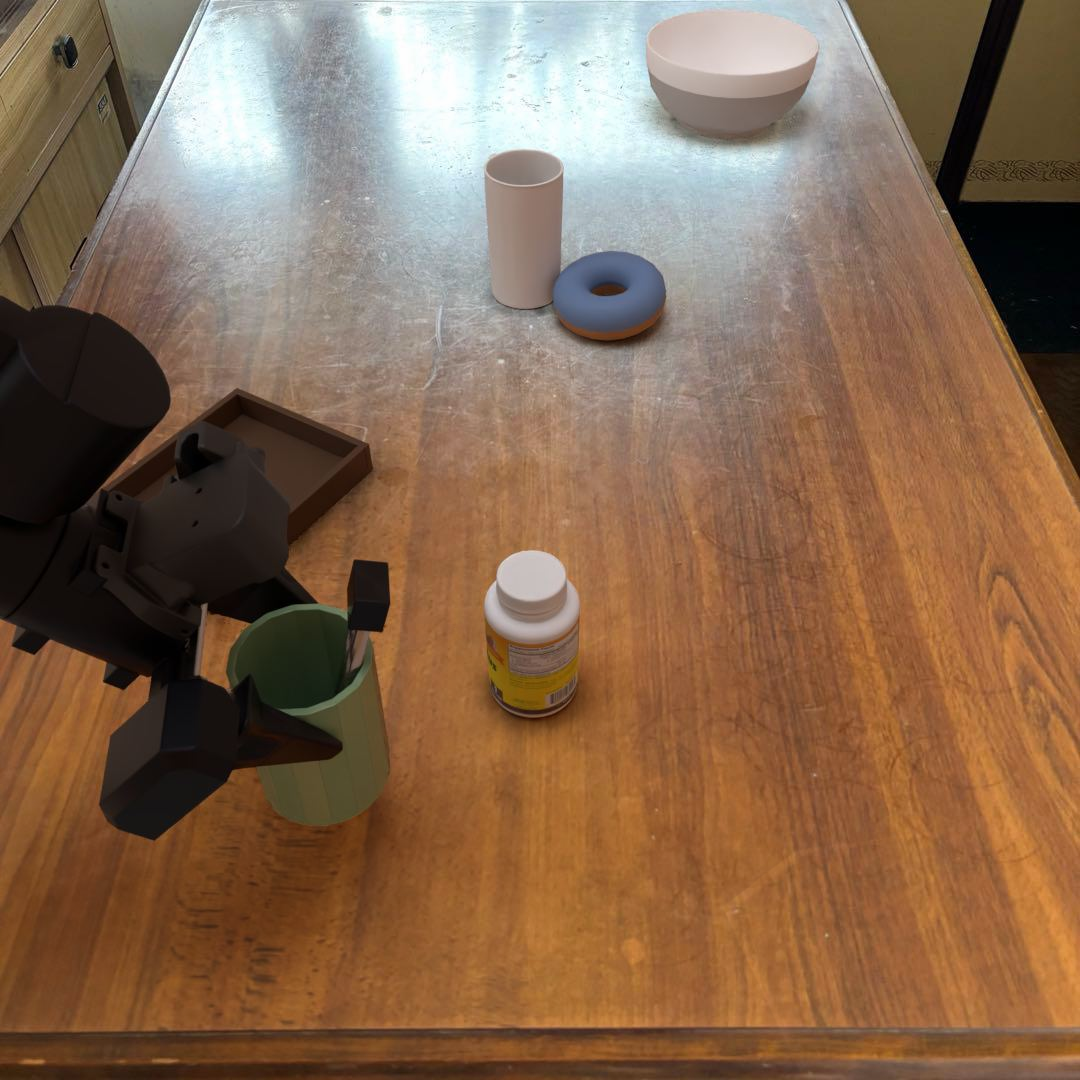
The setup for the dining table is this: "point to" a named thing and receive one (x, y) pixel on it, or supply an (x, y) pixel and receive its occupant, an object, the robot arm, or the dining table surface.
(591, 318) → the doughnut
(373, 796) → the cup
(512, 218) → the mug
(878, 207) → the dining table surface
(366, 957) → the dining table surface
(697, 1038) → the dining table surface
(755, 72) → the bowl
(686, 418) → the dining table surface
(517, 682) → the supplement bottle
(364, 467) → the tray
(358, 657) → the black component with leads
